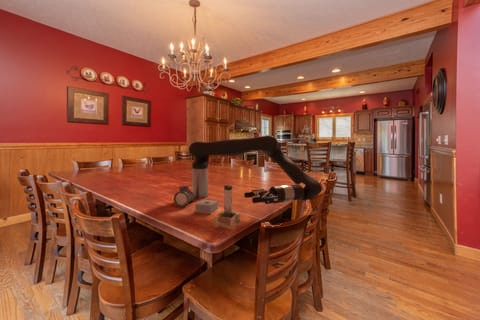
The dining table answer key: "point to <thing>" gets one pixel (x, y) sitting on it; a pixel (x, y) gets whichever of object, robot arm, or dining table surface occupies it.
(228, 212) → the pin
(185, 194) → the pipe fitting
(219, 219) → the wooden square box frame
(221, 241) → the dining table surface
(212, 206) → the block
